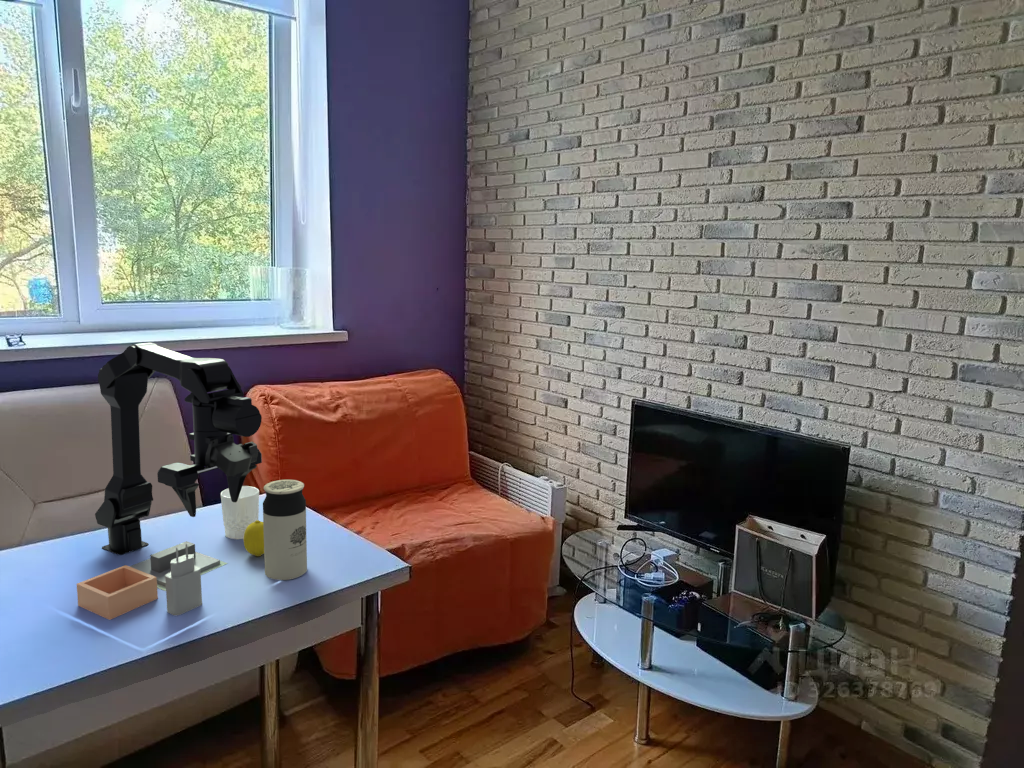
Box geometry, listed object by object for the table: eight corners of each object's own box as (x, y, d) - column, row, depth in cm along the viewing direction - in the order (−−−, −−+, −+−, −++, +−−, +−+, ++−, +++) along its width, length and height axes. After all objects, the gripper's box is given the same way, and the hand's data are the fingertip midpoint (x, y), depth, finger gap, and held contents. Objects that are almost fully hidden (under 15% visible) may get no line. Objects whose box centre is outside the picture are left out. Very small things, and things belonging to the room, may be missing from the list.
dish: (78, 607, 126) (76, 583, 126) (126, 587, 134) (125, 565, 133) (109, 621, 122) (107, 597, 121) (157, 600, 130) (156, 577, 129)
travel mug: (257, 571, 142) (254, 484, 139) (293, 560, 148) (291, 476, 145) (278, 585, 137) (275, 495, 134) (314, 572, 143) (313, 486, 140)
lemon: (263, 564, 146) (262, 526, 144) (238, 560, 147) (237, 523, 145) (277, 553, 151) (276, 517, 150) (253, 550, 152) (252, 514, 151)
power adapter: (204, 605, 129) (201, 542, 126) (176, 618, 124) (172, 553, 122) (193, 601, 130) (189, 538, 128) (165, 613, 126) (161, 548, 123)
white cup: (252, 542, 156) (251, 498, 154) (216, 541, 156) (214, 497, 154) (265, 528, 164) (264, 486, 162) (230, 527, 164) (229, 485, 162)
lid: (126, 571, 140) (125, 553, 139) (180, 550, 150) (180, 532, 149) (166, 587, 134) (165, 568, 133) (220, 563, 144) (219, 546, 144)
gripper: (195, 446, 120) (199, 534, 123) (281, 424, 136) (283, 503, 139) (153, 436, 125) (158, 521, 128) (240, 416, 142) (243, 492, 144)
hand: (214, 509), depth 135 cm, fingers open, 9 cm apart
